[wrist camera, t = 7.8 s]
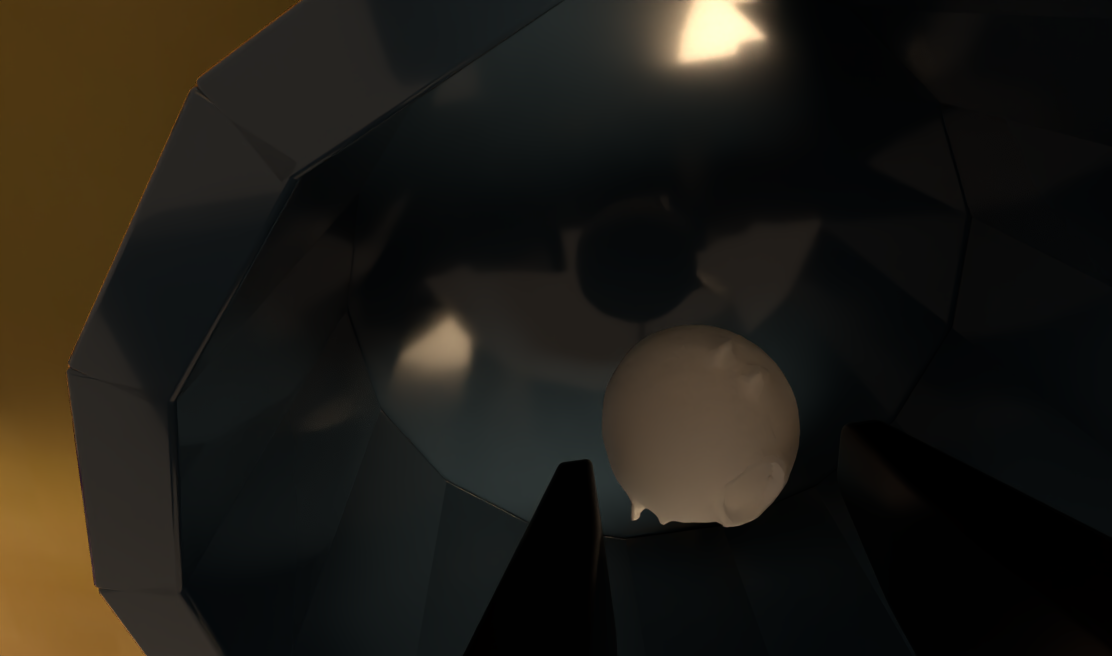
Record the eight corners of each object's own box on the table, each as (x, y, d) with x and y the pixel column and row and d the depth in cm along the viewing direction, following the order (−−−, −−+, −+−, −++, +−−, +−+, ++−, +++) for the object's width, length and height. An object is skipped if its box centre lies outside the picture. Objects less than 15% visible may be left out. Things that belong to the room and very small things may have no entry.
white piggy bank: (634, 264, 9) (688, 360, 7) (797, 324, 10) (902, 431, 7) (558, 423, 10) (578, 557, 8) (709, 467, 11) (774, 603, 8)
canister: (1132, 237, 11) (1715, 471, 6) (677, 613, 16) (757, 949, 10) (600, -338, 8) (804, -1301, 2) (199, 374, 12) (-89, 702, 6)
